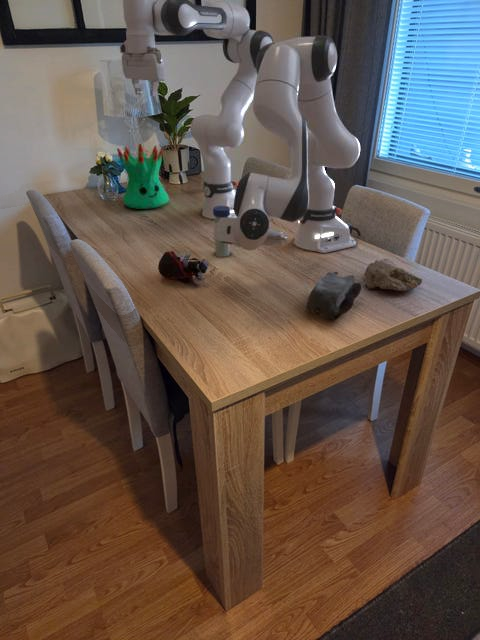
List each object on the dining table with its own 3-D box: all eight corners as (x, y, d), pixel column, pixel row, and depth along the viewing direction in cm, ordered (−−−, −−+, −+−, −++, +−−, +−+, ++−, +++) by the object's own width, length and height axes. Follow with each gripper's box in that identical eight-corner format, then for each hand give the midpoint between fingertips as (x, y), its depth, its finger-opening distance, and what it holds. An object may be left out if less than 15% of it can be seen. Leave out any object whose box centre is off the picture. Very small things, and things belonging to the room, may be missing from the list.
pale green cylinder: (225, 250, 158) (225, 206, 150) (231, 255, 155) (231, 210, 146) (213, 252, 157) (211, 208, 148) (219, 257, 153) (218, 212, 144)
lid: (225, 210, 151) (225, 204, 150) (233, 215, 147) (232, 209, 146) (210, 213, 149) (210, 207, 148) (217, 218, 145) (217, 211, 144)
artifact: (382, 302, 128) (424, 295, 132) (389, 280, 123) (432, 273, 128) (348, 271, 141) (387, 266, 146) (354, 250, 137) (393, 246, 142)
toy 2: (200, 245, 129) (156, 241, 134) (191, 274, 126) (147, 269, 132) (215, 264, 140) (174, 259, 145) (207, 291, 137) (165, 286, 142)
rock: (342, 329, 114) (346, 302, 110) (301, 318, 119) (303, 292, 115) (361, 299, 128) (365, 274, 124) (324, 290, 132) (326, 266, 128)
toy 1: (131, 213, 192) (124, 153, 179) (118, 201, 207) (109, 145, 194) (175, 206, 201) (171, 148, 187) (159, 195, 215) (154, 140, 202)
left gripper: (168, 47, 137) (172, 97, 145) (133, 46, 150) (138, 92, 157) (151, 47, 134) (155, 98, 141) (116, 46, 146) (122, 93, 154)
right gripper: (289, 226, 121) (282, 233, 135) (214, 216, 120) (215, 225, 134) (286, 249, 121) (279, 254, 135) (211, 240, 120) (212, 246, 134)
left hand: (146, 95), depth 149 cm, fingers open, 8 cm apart
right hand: (247, 239), depth 134 cm, fingers open, 8 cm apart
